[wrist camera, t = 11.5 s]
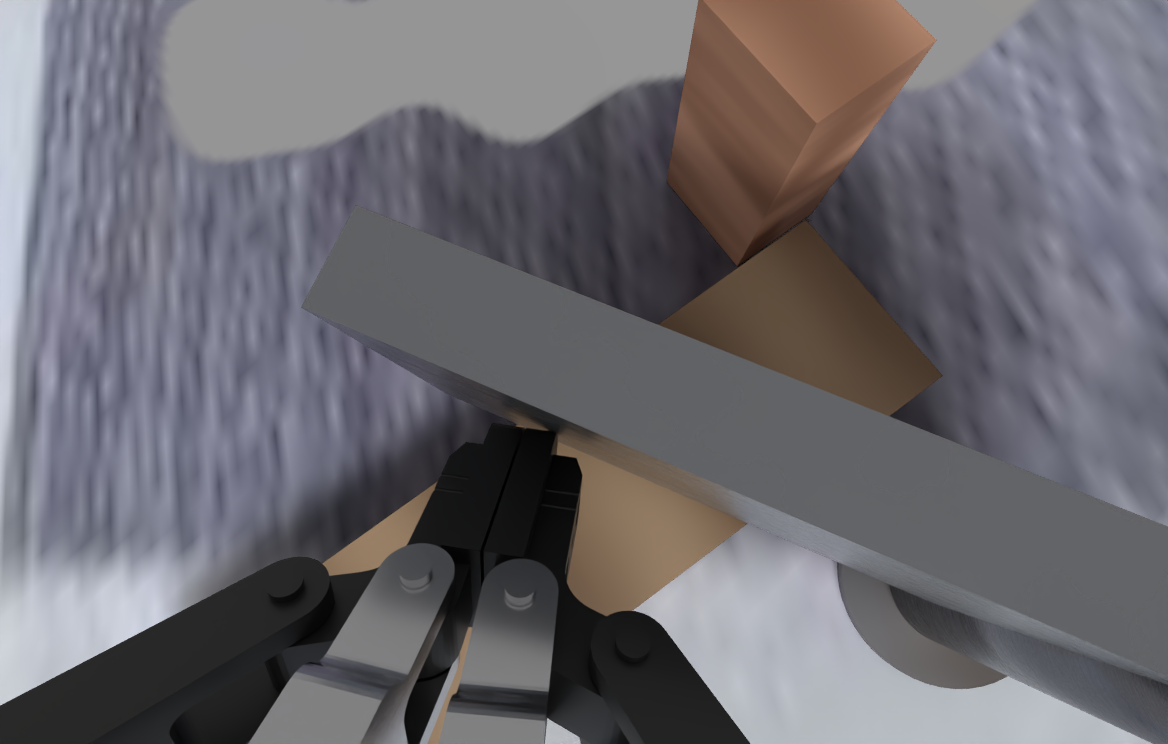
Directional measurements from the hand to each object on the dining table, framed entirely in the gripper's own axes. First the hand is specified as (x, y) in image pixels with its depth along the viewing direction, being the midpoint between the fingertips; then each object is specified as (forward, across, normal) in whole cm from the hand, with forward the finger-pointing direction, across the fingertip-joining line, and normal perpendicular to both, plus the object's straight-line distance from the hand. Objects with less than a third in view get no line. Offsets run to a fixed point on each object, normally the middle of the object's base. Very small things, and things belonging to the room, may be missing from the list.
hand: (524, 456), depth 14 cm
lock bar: (+4, -6, +3) cm, 8 cm away
